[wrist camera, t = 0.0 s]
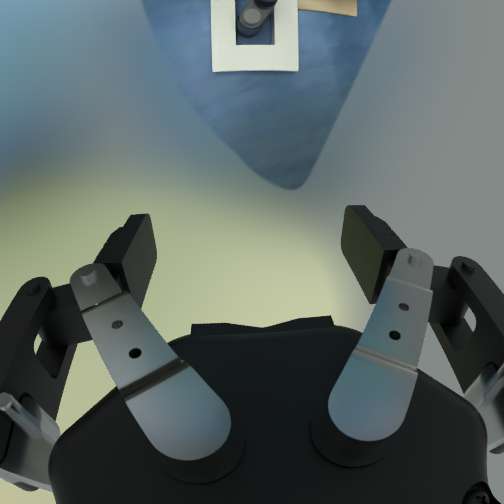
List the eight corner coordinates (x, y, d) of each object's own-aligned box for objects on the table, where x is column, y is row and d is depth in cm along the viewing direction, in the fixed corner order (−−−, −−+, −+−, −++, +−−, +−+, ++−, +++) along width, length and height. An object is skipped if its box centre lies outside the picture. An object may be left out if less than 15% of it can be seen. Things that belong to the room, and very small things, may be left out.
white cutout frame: (212, -23, 26) (210, -30, 23) (291, -23, 26) (296, -29, 23) (214, 72, 33) (212, 71, 30) (293, 71, 33) (298, 71, 31)
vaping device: (273, 11, 29) (290, -14, 19) (250, 41, 31) (259, 25, 21) (255, 1, 28) (265, -28, 18) (233, 32, 30) (233, 12, 20)
